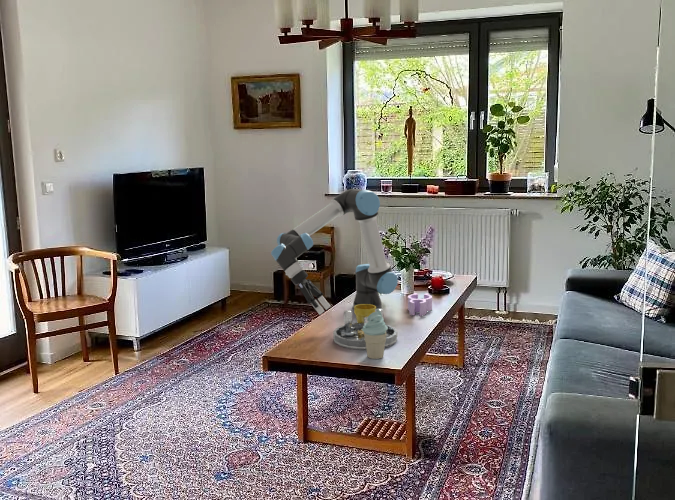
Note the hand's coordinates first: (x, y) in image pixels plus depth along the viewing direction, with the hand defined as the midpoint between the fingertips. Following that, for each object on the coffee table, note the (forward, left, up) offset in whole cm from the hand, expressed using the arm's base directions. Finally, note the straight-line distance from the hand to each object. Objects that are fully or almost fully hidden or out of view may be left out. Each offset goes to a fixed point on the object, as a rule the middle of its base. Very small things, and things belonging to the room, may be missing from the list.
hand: (325, 310), depth 304 cm
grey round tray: (+1, +20, -11) cm, 23 cm away
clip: (-53, +29, -12) cm, 61 cm away
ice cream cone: (+21, +32, -11) cm, 40 cm away
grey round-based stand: (+1, +11, -10) cm, 15 cm away
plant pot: (-18, +13, -12) cm, 25 cm away
